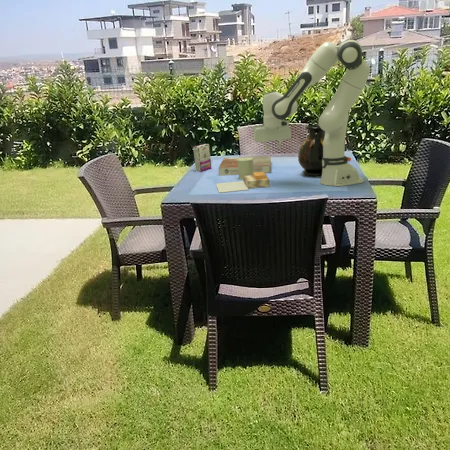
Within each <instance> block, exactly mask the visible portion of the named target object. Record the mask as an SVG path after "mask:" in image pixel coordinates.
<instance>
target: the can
mask: <svg viewBox="0 0 450 450" xmlns="http://www.w3.org/2000/svg"><path fill="white" fill-rule="evenodd" d="M238 172H239V175H238V180H239V181H244V176H249V175H253V158H240V159H238Z"/></svg>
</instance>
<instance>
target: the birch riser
mask: <svg viewBox="0 0 450 450" xmlns="http://www.w3.org/2000/svg"><path fill="white" fill-rule="evenodd" d="M243 181H244V183H245V184H246V186H247V187H248V189H249V190H251V189H257V188H260V189H261V188H269V187H271V186H270V178H269V177H268V176H267V179H257V180H256V179H255V178H254V177H253V175H249V176H244V180H243Z"/></svg>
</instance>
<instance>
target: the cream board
mask: <svg viewBox="0 0 450 450" xmlns="http://www.w3.org/2000/svg"><path fill="white" fill-rule="evenodd" d="M215 186H216V188H217V190H218V194H223V193H225V194H226V193H234V191H235V192H244V191H250V189H248V187H247V186H246V184H245V183H244V180H239V181H238V180H237V181H229V182H219V183H215Z"/></svg>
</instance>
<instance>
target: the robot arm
mask: <svg viewBox="0 0 450 450" xmlns="http://www.w3.org/2000/svg"><path fill="white" fill-rule="evenodd" d="M362 48H363V47H362V46H361V43H360V42H359V41H358V40H357V39H353V38H349V39H345V40H343V41H341V42H339V43H337V44H335V43H334V42H331V41H325V42H322V43H321V45H320V46H318V48H317V49H316V50H315V51H314V52H313V53H312V55H311V56H310V57H309V59H308V60H307V61H306V64H305V65H304V66H303V68H302V69H301V72H300V73H299V74H298V76H297V78H296V79H295V81H294V82H293V83H292V84H291V85H290V87H289V88H288V90H287V91H286V92H285V93H284V94H281V93H280V92H279V91H276V90H275V91H274V90H273V91H268V92H267V93H265V94H264V95H263V99H262V111H263V117H262V118H263V123H259V124H255V125H254V126H253V127H252V131H253V141H254V142H255V143H262V144H264V146H265V150H266V151H267V150H268V151H269V150H270V147H269V145H267V144H268V143H267V142H273V141H274V142H275V141H278V144H276V149H281V144H282V143H283V141H284V140H290V139H291V138H292V130H291V127H290V125H289V124H290V122H289V121H288V120H286V119H287V118H288V117H290V116H293V115H294V114H296V112H297V111H298V109H299V108H298V102H297V100H298V99H299V97H300V96H302V94H303V93H304V91H306V90H307V89H308V88H309V87H311V86H313V85H314V84H317V83H319V82H320V80H322V79H323V78H324V77H325V75H326V74H327V73H328V72H329V71H330V69H331V68H332V67H333V66H334V64H336V63H339V62H340V63H341V64H342V65H343V66H344V67H345V68H346V71H345V74H344V76H343V77H342V79H341V81H340V83H339V85H338V87H337V89H336V90H335V93H334V95H333V96H332V97H331V99H330V100H329V102H328V103H327V105H326V107H325V108H324V110H323V111H322V113H321V115H320V116H319V117H318V124H319V126H320V128H321V129H322V130H324V131H325V132H324V134H325V137H324V141H323V157H322V167H323V170H322V176H320V181H319V183H320V185H325V186H331V187H332V186H334V187H344V186H349V185H358V184H362V183H364V179H363V177H360V173H359V171H358V169H357V168H356V167H354V166H353V165H352V164H350V163H349V162H351V161H352V158H351V157H350V156H346V155H345V152H346V151H345V145H346V144H345V141H346V135H347V130H348V121H349V118H350V115H349V112H350V110H351V109H352V108H353V107H354V105H355V103H357V100H358V98H359V97H360V94H362V91H363V89H364V88H365V86H366V84H367V81H368V78H369V76H370V73H371V67H370V65H369V64H368V63H367V62H365V61H364V60H363V49H362Z"/></svg>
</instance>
